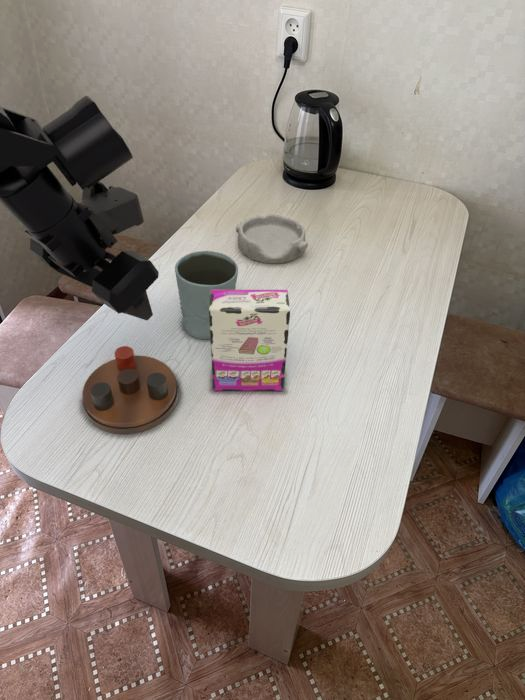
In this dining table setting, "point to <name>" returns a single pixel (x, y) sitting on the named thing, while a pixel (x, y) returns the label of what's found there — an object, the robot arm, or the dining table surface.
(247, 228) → the dish
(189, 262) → the grey green pot
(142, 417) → the spice rack
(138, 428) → the base
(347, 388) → the dining table surface
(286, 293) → the candy bar box
